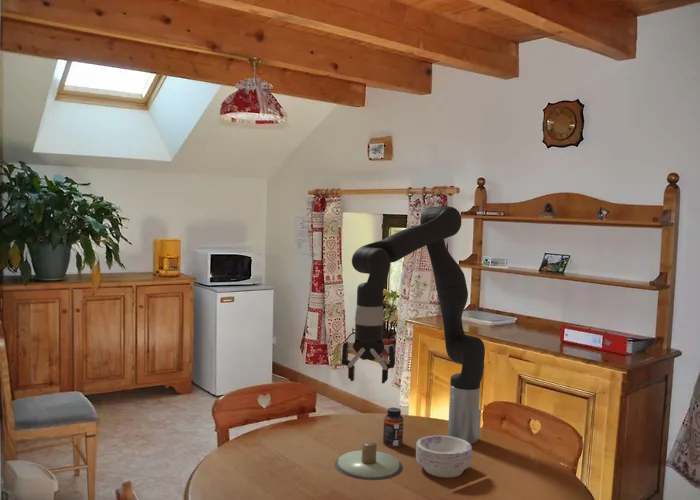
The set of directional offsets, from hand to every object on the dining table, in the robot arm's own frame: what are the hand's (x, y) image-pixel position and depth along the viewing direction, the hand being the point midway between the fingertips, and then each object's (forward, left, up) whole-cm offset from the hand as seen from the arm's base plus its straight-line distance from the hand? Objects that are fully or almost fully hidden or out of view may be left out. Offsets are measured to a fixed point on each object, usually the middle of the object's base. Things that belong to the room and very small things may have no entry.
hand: (367, 381), depth 167 cm
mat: (-3, -2, -25) cm, 25 cm away
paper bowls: (-18, +12, -25) cm, 34 cm away
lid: (-3, -2, -25) cm, 25 cm away
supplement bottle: (-20, -10, -25) cm, 34 cm away
